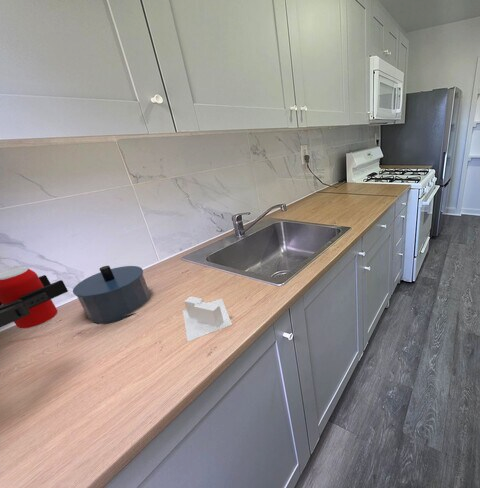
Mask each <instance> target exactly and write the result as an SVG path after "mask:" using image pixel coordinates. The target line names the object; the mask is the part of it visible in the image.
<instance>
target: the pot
mask: <svg viewBox="0 0 480 488" xmlns="http://www.w3.org/2000/svg"><path fill="white" fill-rule="evenodd" d="M76 297H77V299H78V302H79V303H80V305H81V307H82V308H83V311H84V313H85V315H86V317H87V318H88V319H90V320H91V321H94V322H92V323H93V324H96V325H107V324H112V323H116V322H120V321H123V320H125V319H128V318H130V317H132V316H134V315H136V314H137V312H135V311H136V310H137V309H140V308H141V307H143V306H144V305H145V304H146V303H148V301H149V299H150V297H151V293H150V290H149V288H148V285H147V283H146V280H145V277H144V273H143V274H142V276H141V277H140V278H139V279H138V280H136V281H135V282H133V283H132V284H130V285H128V286H126V287H124V288H122V289H119V290H117V291H114V292H111V293H108V294H104V295H100V296H94V297H78V296H76ZM133 312H134V313H133Z"/></svg>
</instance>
